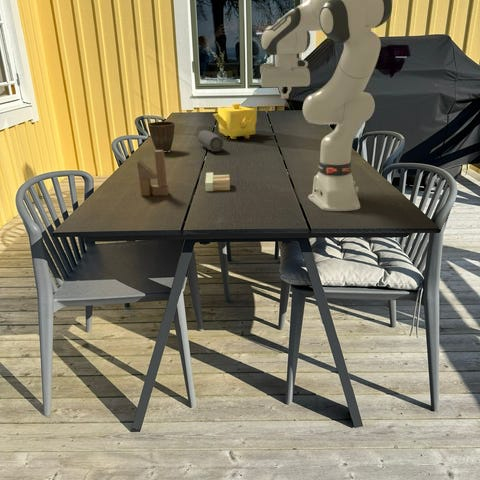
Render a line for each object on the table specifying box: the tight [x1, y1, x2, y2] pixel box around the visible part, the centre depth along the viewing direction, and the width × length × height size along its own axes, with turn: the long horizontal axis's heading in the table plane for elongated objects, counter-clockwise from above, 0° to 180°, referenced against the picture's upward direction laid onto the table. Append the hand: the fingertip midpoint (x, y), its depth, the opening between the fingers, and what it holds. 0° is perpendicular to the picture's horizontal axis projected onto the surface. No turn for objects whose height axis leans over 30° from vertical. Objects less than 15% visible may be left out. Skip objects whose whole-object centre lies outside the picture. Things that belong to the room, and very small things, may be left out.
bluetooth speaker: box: [197, 129, 224, 152], centre depth 248 cm, size 23×9×10 cm, turn 22°
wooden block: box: [137, 149, 170, 197], centre depth 171 cm, size 4×11×18 cm, turn 87°
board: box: [204, 172, 214, 192], centre depth 184 cm, size 16×3×4 cm, turn 2°
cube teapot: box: [212, 103, 258, 140], centre depth 278 cm, size 35×30×21 cm
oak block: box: [213, 174, 231, 191], centre depth 181 cm, size 8×7×4 cm
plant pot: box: [147, 121, 175, 151], centre depth 245 cm, size 15×15×16 cm
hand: (284, 98), depth 179 cm, fingers closed
